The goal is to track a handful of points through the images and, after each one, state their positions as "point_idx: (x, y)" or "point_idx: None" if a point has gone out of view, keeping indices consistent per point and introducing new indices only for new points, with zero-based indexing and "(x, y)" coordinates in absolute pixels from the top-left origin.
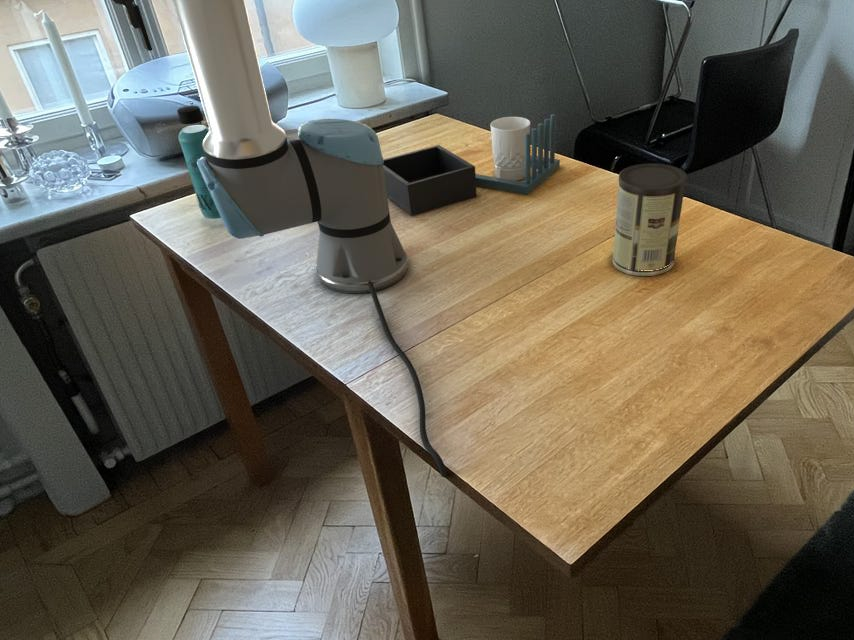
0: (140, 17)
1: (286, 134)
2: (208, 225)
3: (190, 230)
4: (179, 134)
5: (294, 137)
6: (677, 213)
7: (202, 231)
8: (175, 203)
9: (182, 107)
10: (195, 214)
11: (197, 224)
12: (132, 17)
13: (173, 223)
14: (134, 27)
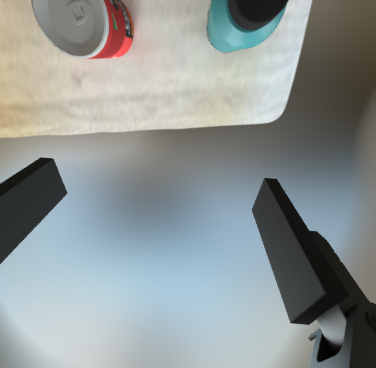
0: (308, 248)
1: (79, 44)
2: None
3: None
4: (279, 17)
5: (67, 13)
6: None
7: None
8: (237, 122)
9: (270, 7)
10: (239, 74)
11: None
12: (331, 262)
13: (269, 67)
14: (318, 233)
